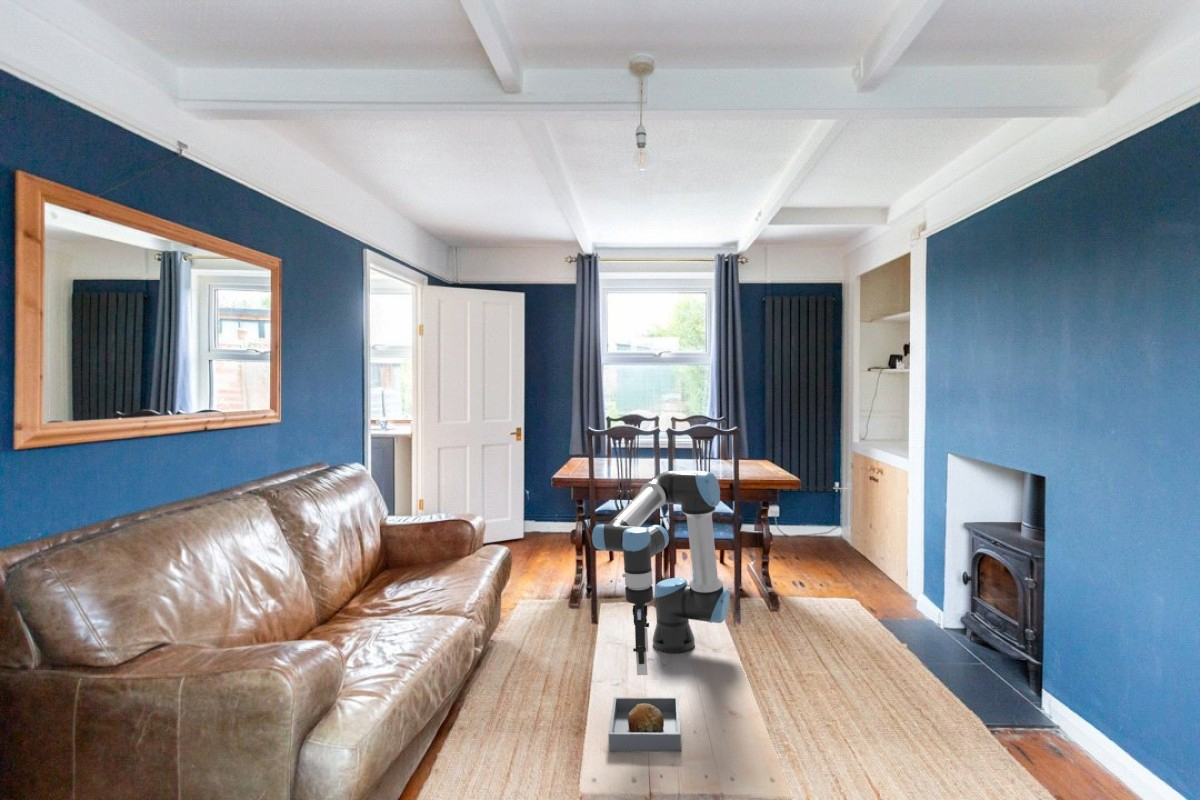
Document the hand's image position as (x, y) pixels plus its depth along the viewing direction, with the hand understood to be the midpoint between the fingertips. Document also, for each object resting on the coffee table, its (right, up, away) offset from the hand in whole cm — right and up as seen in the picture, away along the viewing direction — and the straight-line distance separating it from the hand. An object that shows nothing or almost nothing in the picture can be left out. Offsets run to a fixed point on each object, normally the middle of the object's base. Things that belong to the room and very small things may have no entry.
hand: (643, 662), depth 164 cm
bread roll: (+1, -18, 0) cm, 18 cm away
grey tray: (+1, -19, 0) cm, 19 cm away
